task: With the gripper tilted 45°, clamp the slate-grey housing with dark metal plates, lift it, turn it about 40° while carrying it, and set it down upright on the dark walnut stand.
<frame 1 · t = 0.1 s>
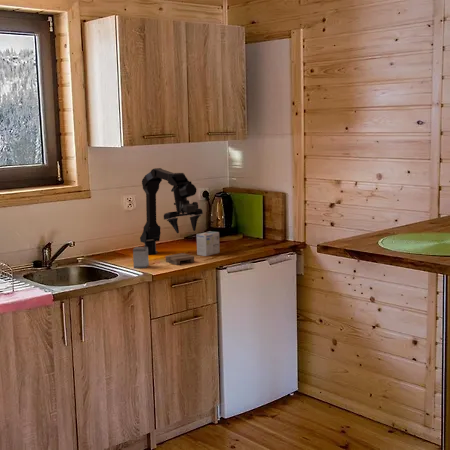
hand: (186, 232, 325), 15 cm above the worktop, tool pointing down, fingers open, 9 cm apart
walnut stand: (179, 262, 333), on the worktop
light bulb box: (208, 254, 351), on the worktop
grey housing: (141, 266, 324), on the worktop
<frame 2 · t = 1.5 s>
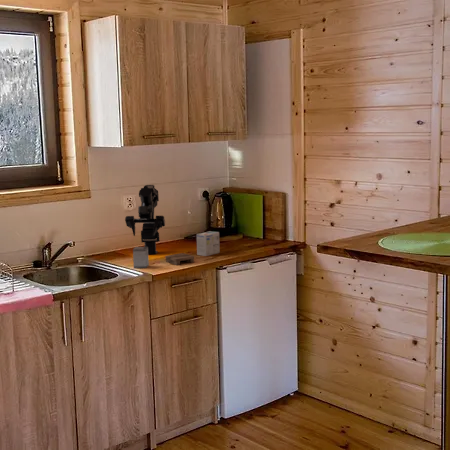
hand: (143, 235, 330), 13 cm above the worktop, tool tilted 45°, fingers open, 9 cm apart
nothing on the worktop moved.
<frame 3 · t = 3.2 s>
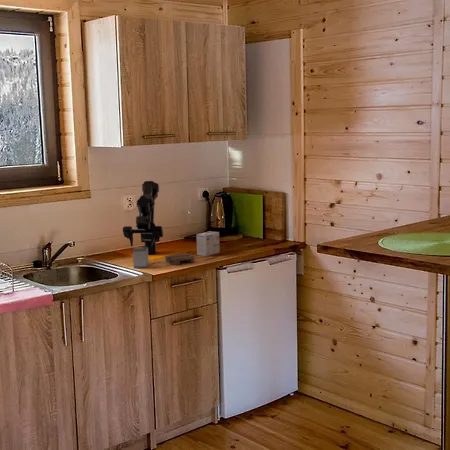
hand: (141, 246, 325), 9 cm above the worktop, tool tilted 45°, fingers open, 9 cm apart
nothing on the worktop moved.
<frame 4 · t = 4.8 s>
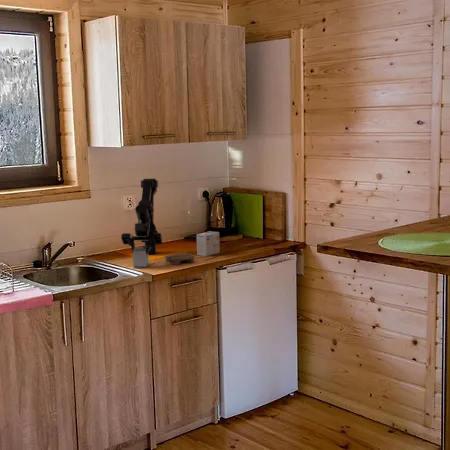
hand: (140, 253, 322), 7 cm above the worktop, tool tilted 45°, fingers closed on grey housing, 6 cm apart
grey housing: (141, 266, 324), on the worktop, touching gripper
everything else where it was.
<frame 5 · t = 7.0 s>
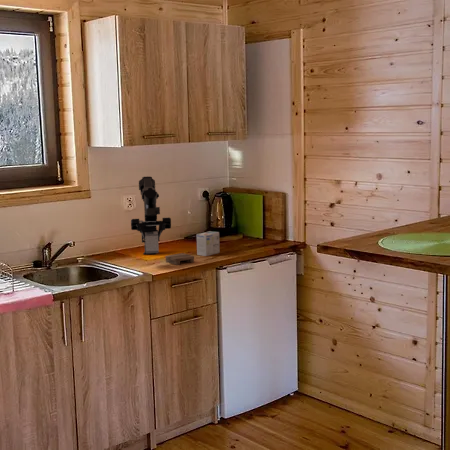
hand: (151, 238, 322), 13 cm above the worktop, tool tilted 45°, fingers closed on grey housing, 6 cm apart
grey housing: (152, 251, 325), point 7 cm above the worktop, touching gripper
everything else where it was.
when the fingers open (11 cm above the worktop, at t = 9.2 s): grey housing drops 1 cm, resting on walnut stand.
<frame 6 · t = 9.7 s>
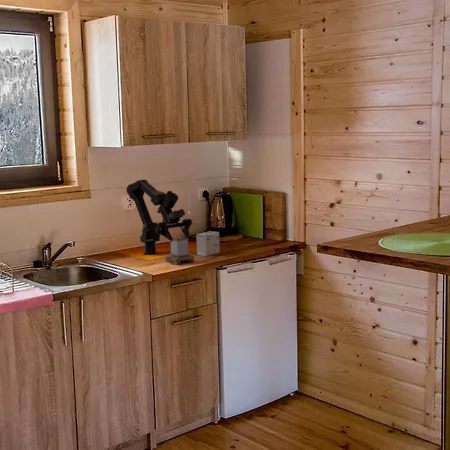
hand: (180, 239, 330), 11 cm above the worktop, tool tilted 45°, fingers open, 9 cm apart
grey housing: (179, 256, 332), point 3 cm above the worktop, touching walnut stand
everything else where it was.
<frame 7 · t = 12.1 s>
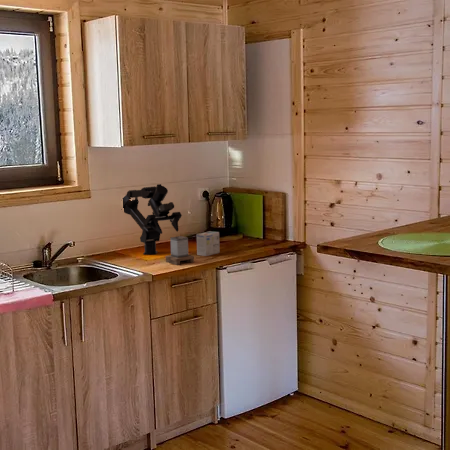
hand: (169, 232, 337), 14 cm above the worktop, tool tilted 45°, fingers open, 9 cm apart
nothing on the worktop moved.
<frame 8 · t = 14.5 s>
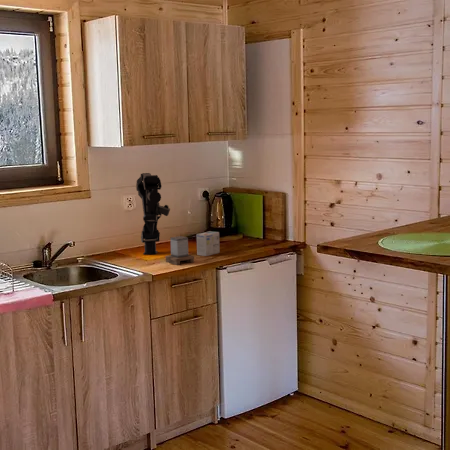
hand: (153, 232, 341), 13 cm above the worktop, tool pointing down, fingers open, 9 cm apart
nothing on the worktop moved.
at the end: grey housing inside the target area on the walnut stand (0.0 cm from its centre), point 3.0 cm above the walnut stand's base; grey housing tilted 0°; the gripper is holding nothing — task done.
